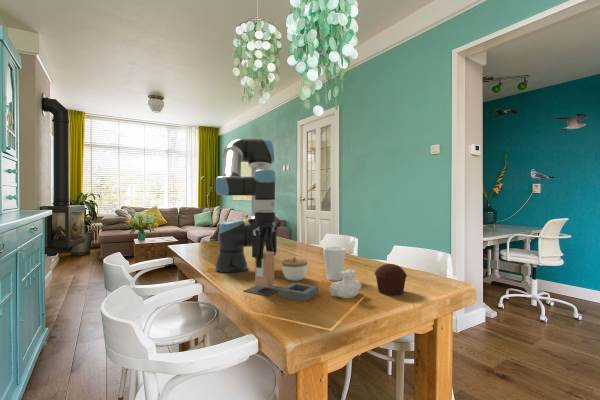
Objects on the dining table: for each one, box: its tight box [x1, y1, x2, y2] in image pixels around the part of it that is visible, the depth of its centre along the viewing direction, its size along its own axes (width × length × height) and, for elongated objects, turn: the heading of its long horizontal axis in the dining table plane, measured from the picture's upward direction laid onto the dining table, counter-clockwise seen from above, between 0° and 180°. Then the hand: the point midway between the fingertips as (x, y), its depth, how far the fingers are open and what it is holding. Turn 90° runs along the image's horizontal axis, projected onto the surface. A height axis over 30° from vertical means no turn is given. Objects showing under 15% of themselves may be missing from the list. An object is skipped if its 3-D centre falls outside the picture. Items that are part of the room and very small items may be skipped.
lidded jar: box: [281, 257, 308, 282], centre depth 129 cm, size 11×11×9 cm
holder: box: [279, 282, 319, 303], centre depth 107 cm, size 10×10×3 cm
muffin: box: [374, 263, 408, 297], centre depth 113 cm, size 12×11×10 cm
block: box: [254, 250, 275, 287], centre depth 113 cm, size 5×5×12 cm
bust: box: [329, 268, 362, 299], centre depth 106 cm, size 12×8×11 cm
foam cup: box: [322, 246, 346, 282], centre depth 131 cm, size 10×9×13 cm
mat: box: [243, 284, 285, 298], centre depth 113 cm, size 11×11×1 cm
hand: (264, 274), depth 113 cm, fingers closed on block, 5 cm apart
